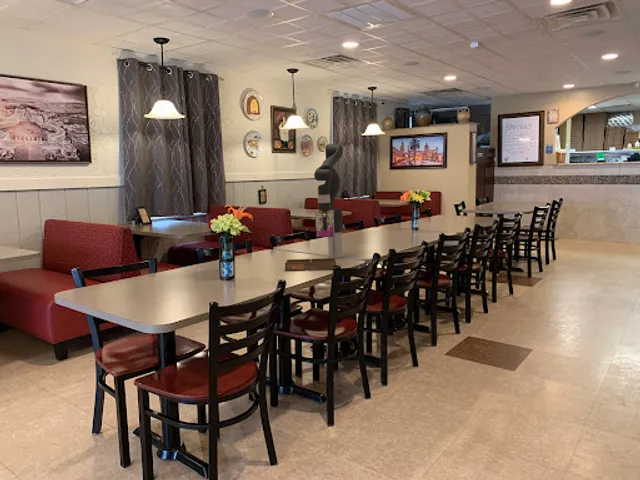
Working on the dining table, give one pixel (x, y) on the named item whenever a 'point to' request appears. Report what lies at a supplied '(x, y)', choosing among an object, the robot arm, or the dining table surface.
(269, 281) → the dining table surface
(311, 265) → the organiser rack
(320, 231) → the candy bar box
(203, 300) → the dining table surface
